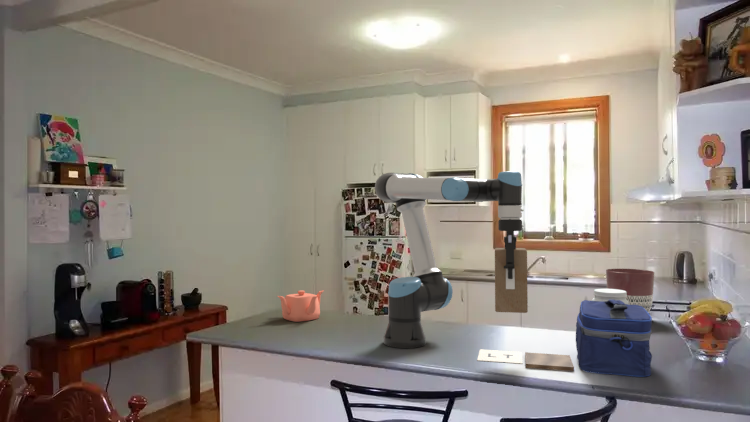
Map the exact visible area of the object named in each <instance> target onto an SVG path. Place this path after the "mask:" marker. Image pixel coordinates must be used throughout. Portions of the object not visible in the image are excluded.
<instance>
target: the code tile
mask: <svg viewBox="0 0 750 422" xmlns="http://www.w3.org/2000/svg"><path fill="white" fill-rule="evenodd" d="M477 362H490V363H492V362H493V363H503V362H505V364H520V365H522V364H523V352H522V351H511V350H510V351H509V350H495V349H494V350H493V349H482V348H481V349H479V351H478V356H477Z"/></svg>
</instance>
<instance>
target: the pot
mask: <svg viewBox="0 0 750 422" xmlns="http://www.w3.org/2000/svg"><path fill="white" fill-rule="evenodd" d="M323 292H325V290H319V291H318V292H317V294H315V293H314V294H313V293H310V292H309V293H307V292H306V291H305V290H303V289H302V290H301V289H300V290H297V293H289V294H285V296H282V295H277V297H278V298H279V299H280V304H281V312H282V313H281V314H282V315H281V316H282V318H283V319H284V320H287V321H291V322H295V323H296V322H307V321H314V320H318V319H319V318H320V315H321V308H320V305H321V296H322V294H323Z"/></svg>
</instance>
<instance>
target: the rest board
mask: <svg viewBox="0 0 750 422" xmlns="http://www.w3.org/2000/svg"><path fill="white" fill-rule="evenodd" d="M524 359H525V360H524V362H525V368H526V369H539V370H541V369H542V370H550V371H551V370H554V371H565V372H567V371H568V372H575V366H574V363H573V361H572V357H571V355H570V354H558V353H557V354H555V353H544V352H543V353H541V352H526V351H525V354H524Z"/></svg>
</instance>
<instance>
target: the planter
mask: <svg viewBox="0 0 750 422" xmlns="http://www.w3.org/2000/svg"><path fill="white" fill-rule="evenodd" d="M605 279H606V289H618V290H624V291H626V292H627V296H626V299H627V300H628V302H629V305H639V306H642V307H643V308H644V309H645V310H646V311H647V312H648V313H649V312H651V311H650V310H651V308H652V305H653V300H654V299H653V298H654V284H655V283H654V282H655V271H652V270H647V269H639V268H637V269H636V268H607V269H606V270H605Z"/></svg>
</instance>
